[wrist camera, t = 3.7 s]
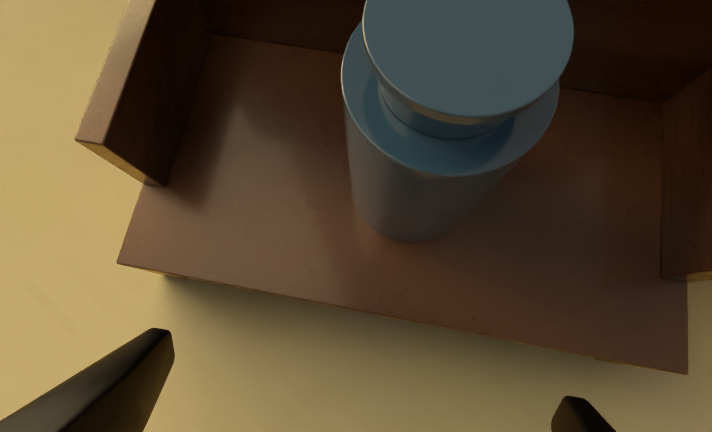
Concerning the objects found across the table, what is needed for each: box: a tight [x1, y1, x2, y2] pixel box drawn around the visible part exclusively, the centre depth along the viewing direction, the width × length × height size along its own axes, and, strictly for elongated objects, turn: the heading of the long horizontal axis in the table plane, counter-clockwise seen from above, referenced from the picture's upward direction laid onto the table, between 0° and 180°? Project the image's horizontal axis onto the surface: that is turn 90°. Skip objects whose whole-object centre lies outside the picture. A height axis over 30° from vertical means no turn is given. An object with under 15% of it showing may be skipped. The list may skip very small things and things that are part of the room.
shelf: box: [75, 0, 712, 375], centre depth 16 cm, size 14×26×18 cm, turn 79°
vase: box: [341, 0, 574, 242], centre depth 15 cm, size 6×6×11 cm
